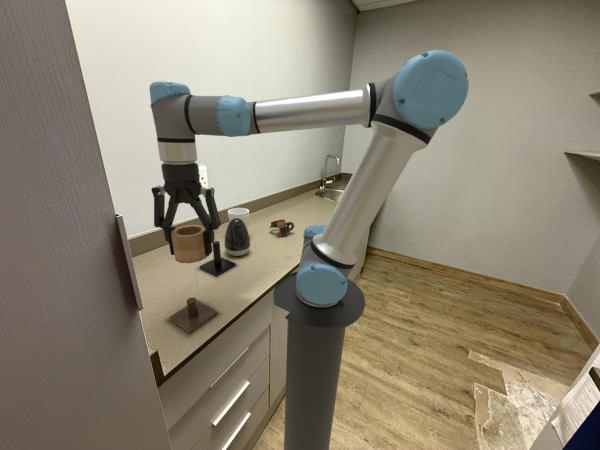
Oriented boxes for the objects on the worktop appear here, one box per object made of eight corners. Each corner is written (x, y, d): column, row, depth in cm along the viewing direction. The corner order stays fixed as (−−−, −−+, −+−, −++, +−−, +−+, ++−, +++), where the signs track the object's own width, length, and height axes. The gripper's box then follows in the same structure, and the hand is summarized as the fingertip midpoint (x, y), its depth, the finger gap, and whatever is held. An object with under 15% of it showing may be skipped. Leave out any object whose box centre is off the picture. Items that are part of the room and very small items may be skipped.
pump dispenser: (226, 261, 93) (223, 224, 87) (223, 249, 102) (221, 215, 96) (253, 257, 96) (252, 221, 91) (248, 246, 105) (246, 213, 100)
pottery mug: (271, 238, 115) (267, 222, 116) (273, 239, 124) (270, 224, 125) (296, 232, 115) (292, 216, 116) (296, 234, 124) (292, 218, 125)
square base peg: (236, 265, 90) (234, 241, 86) (216, 276, 83) (214, 250, 79) (219, 258, 94) (217, 235, 91) (199, 268, 87) (196, 243, 83)
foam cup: (240, 243, 108) (238, 215, 103) (225, 238, 112) (223, 211, 108) (254, 236, 116) (253, 210, 111) (239, 231, 120) (238, 206, 115)
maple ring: (215, 253, 64) (213, 229, 61) (188, 266, 57) (184, 239, 55) (195, 246, 67) (192, 222, 65) (168, 257, 61) (163, 231, 58)
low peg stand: (217, 314, 66) (215, 297, 64) (189, 334, 59) (186, 316, 57) (197, 302, 70) (195, 286, 68) (169, 320, 63) (166, 303, 61)
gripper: (231, 162, 58) (236, 248, 66) (143, 158, 58) (159, 245, 66) (221, 166, 51) (228, 261, 59) (121, 162, 50) (142, 258, 59)
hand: (192, 252), depth 62 cm, fingers closed on maple ring, 8 cm apart
